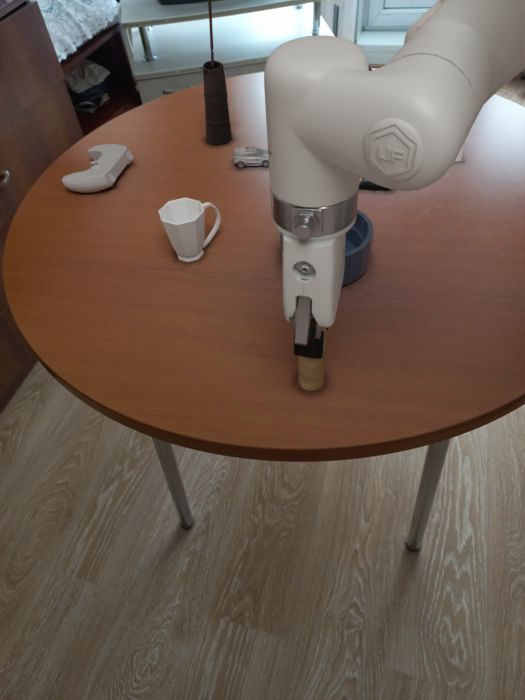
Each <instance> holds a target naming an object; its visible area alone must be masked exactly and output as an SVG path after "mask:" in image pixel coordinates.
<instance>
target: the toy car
mask: <svg viewBox="0 0 525 700" xmlns="http://www.w3.org/2000/svg"><path fill="white" fill-rule="evenodd" d="M233 163H234V166H235V164H236V166H237V168H239V169H243V168H245V166H246V167H247V166H248V167H249V166H250V167H251V166H252V167H256V166H257V167H259V166H262V167H264V168H269V158H268V149H262V148H259V147H257V146H254V145H253V146H246V147H245V146H243V147H240V146H236V147H235V148H234V152H233Z"/></svg>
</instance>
